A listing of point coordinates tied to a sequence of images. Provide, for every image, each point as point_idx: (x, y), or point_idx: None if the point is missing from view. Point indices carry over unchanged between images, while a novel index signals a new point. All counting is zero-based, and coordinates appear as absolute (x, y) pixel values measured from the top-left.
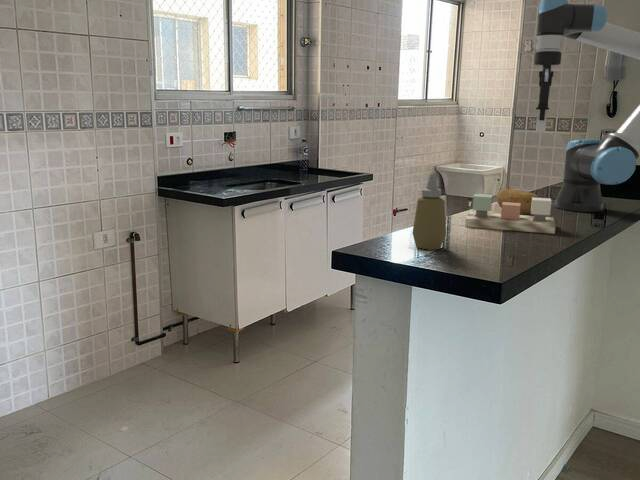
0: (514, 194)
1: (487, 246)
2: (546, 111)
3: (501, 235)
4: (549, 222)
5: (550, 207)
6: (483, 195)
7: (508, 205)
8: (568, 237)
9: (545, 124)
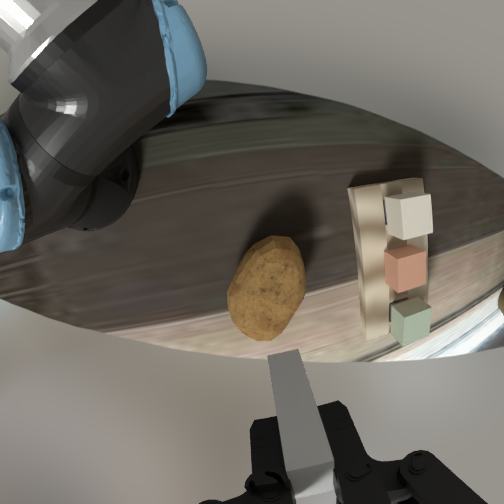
0: (297, 300)
1: (494, 249)
2: (331, 452)
3: (451, 250)
4: (406, 190)
5: (422, 193)
6: (415, 327)
7: (425, 272)
8: (425, 155)
9: (307, 379)
